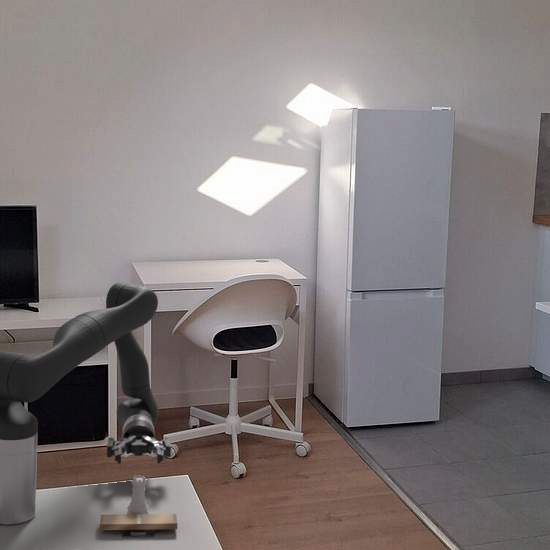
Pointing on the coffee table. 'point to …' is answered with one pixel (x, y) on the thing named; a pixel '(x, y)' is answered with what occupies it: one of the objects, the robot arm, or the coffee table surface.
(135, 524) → the beam
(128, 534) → the fulcrum
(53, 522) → the coffee table surface
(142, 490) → the rook chess piece
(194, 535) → the coffee table surface
